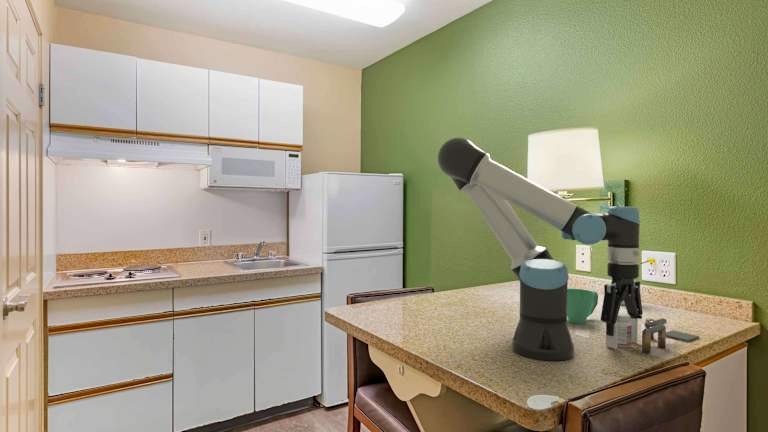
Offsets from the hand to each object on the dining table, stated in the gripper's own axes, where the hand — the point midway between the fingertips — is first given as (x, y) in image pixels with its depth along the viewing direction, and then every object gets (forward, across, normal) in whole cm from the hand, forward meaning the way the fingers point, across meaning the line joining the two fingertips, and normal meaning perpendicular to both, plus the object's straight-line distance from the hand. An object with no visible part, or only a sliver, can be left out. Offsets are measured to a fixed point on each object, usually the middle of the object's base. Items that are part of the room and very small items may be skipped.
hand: (621, 344), depth 119 cm
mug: (0, +14, +21) cm, 25 cm away
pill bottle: (0, 0, 0) cm, 0 cm away
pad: (0, +22, -5) cm, 22 cm away
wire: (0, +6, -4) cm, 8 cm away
